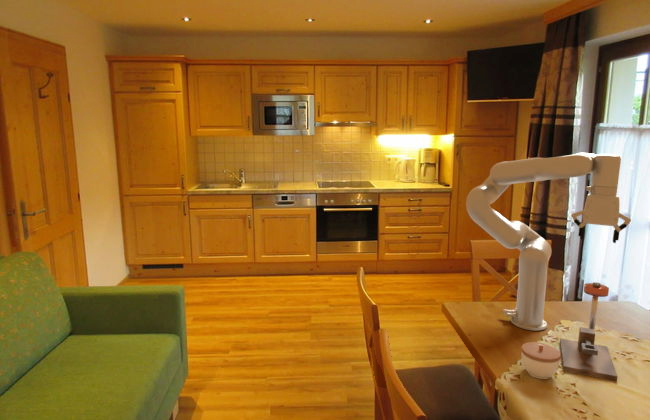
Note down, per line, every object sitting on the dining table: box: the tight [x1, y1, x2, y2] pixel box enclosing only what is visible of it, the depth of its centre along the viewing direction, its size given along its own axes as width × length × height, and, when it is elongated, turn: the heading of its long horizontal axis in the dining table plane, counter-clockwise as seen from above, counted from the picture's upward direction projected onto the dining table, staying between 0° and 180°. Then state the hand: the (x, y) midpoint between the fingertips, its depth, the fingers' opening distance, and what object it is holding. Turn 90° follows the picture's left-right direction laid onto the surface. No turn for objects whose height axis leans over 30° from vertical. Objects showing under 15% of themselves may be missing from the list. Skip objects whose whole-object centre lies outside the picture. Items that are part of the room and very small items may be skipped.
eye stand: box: [559, 326, 619, 382], centre depth 143 cm, size 14×20×8 cm
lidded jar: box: [520, 341, 562, 380], centre depth 135 cm, size 11×11×9 cm
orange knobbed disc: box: [583, 281, 610, 330], centre depth 136 cm, size 6×6×14 cm
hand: (597, 240), depth 153 cm, fingers open, 9 cm apart
